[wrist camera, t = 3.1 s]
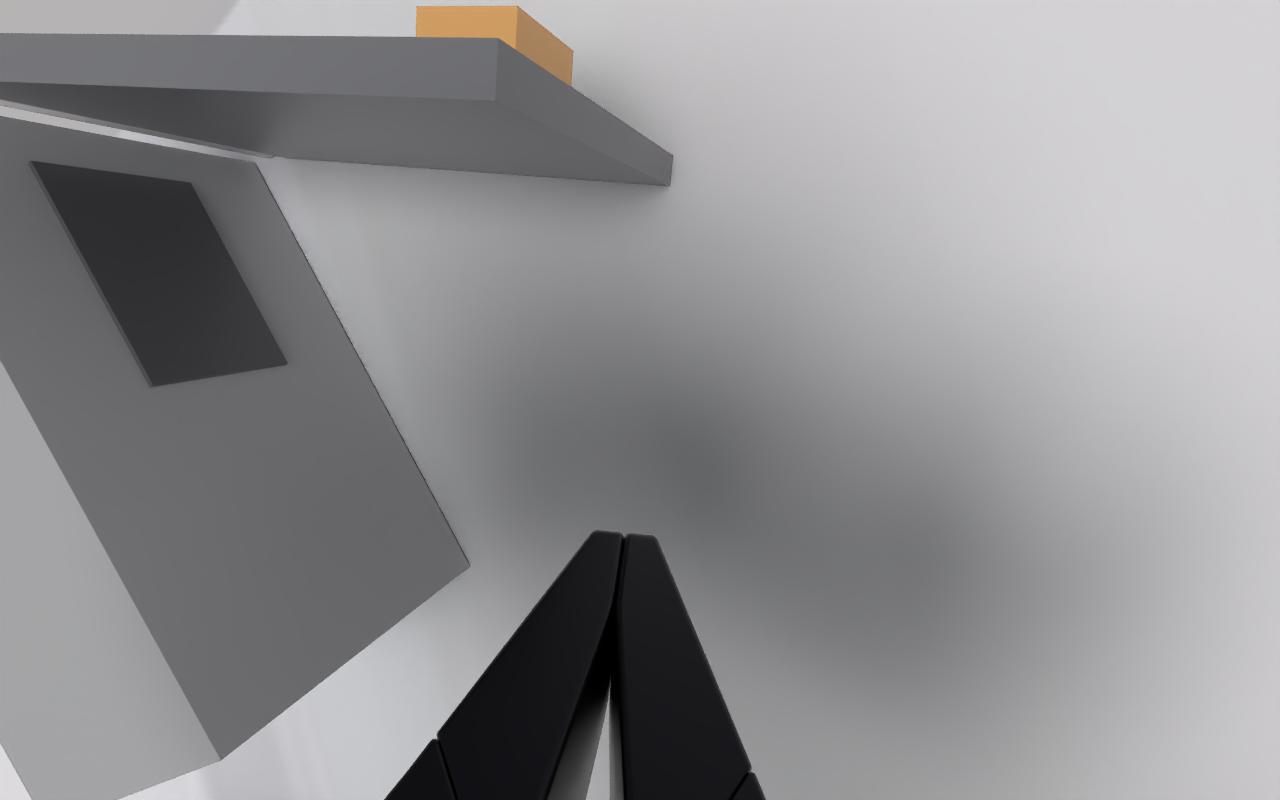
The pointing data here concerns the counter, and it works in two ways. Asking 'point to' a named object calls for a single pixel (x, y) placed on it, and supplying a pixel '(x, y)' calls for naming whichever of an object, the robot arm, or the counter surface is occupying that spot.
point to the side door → (345, 96)
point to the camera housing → (179, 467)
